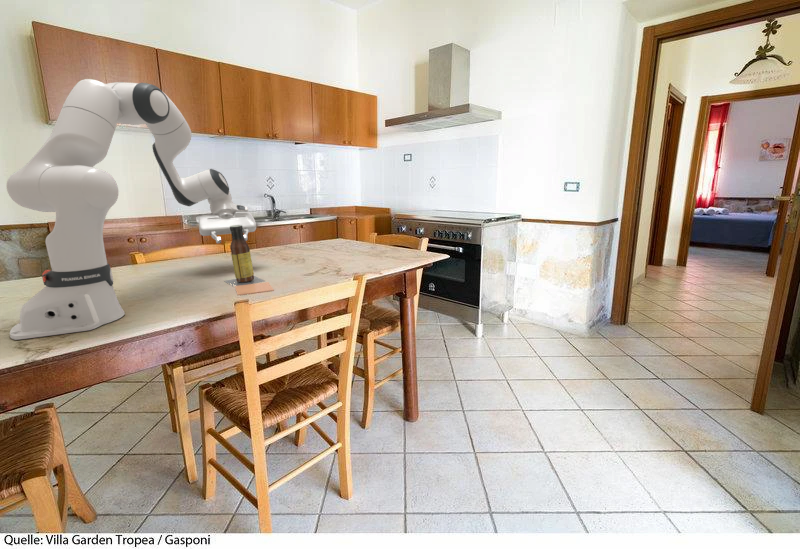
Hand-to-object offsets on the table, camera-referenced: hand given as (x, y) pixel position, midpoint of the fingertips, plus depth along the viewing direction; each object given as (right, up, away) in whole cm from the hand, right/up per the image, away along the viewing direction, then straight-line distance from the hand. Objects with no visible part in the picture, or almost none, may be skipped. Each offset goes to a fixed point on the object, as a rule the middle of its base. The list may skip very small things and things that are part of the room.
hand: (232, 241), depth 146 cm
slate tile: (+7, -16, -7) cm, 19 cm away
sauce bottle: (+7, -15, -7) cm, 18 cm away
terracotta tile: (+15, -18, -17) cm, 29 cm away
